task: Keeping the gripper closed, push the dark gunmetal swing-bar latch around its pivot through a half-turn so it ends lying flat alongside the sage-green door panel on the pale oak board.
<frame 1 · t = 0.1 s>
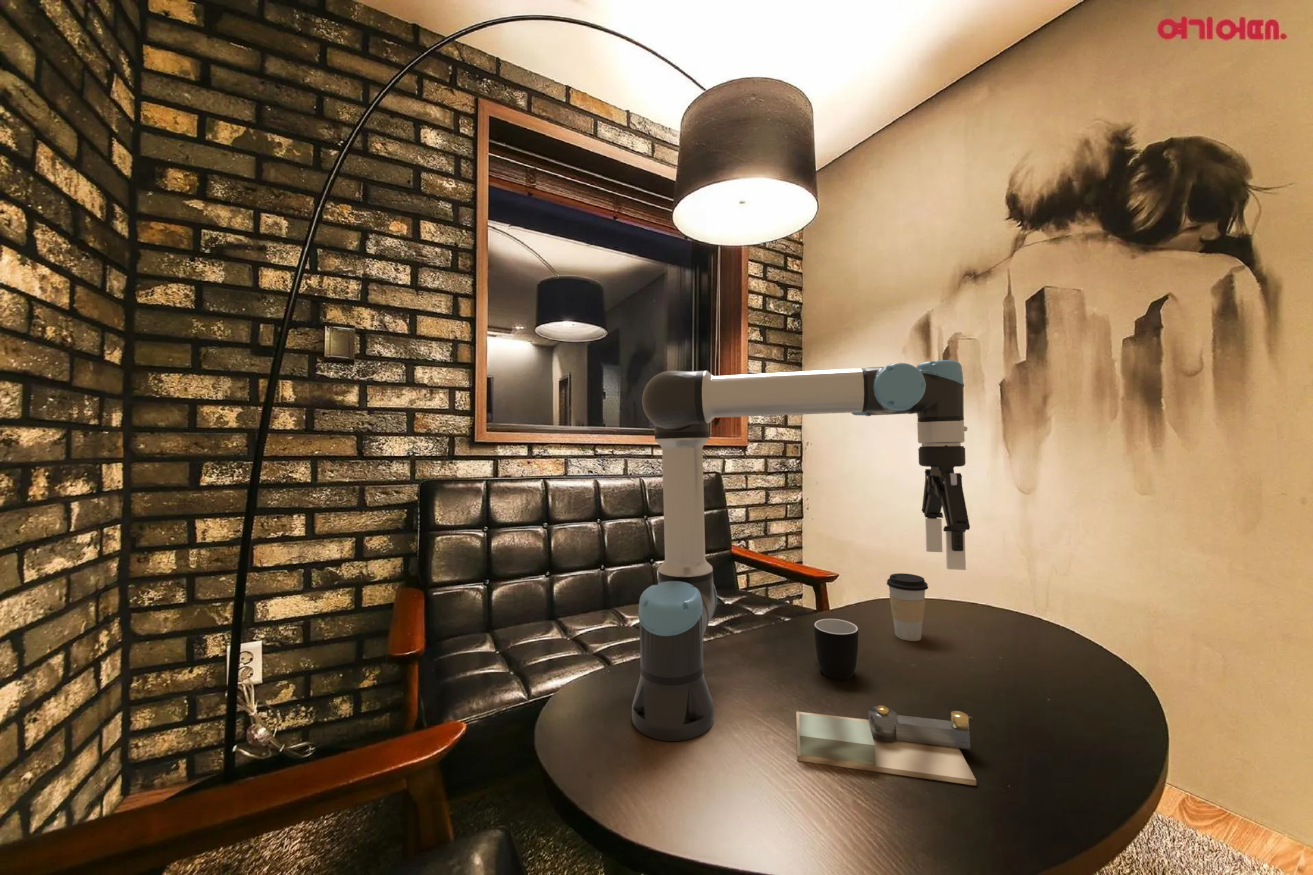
hand: (944, 559, 91), 28 cm above the table, fingers open, 13 cm apart
latch bar: (883, 740, 83), resting on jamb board, hinge at 0.0°
mug: (832, 670, 108), on the table
coffee cup: (908, 637, 125), on the table
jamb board: (875, 746, 81), on the table
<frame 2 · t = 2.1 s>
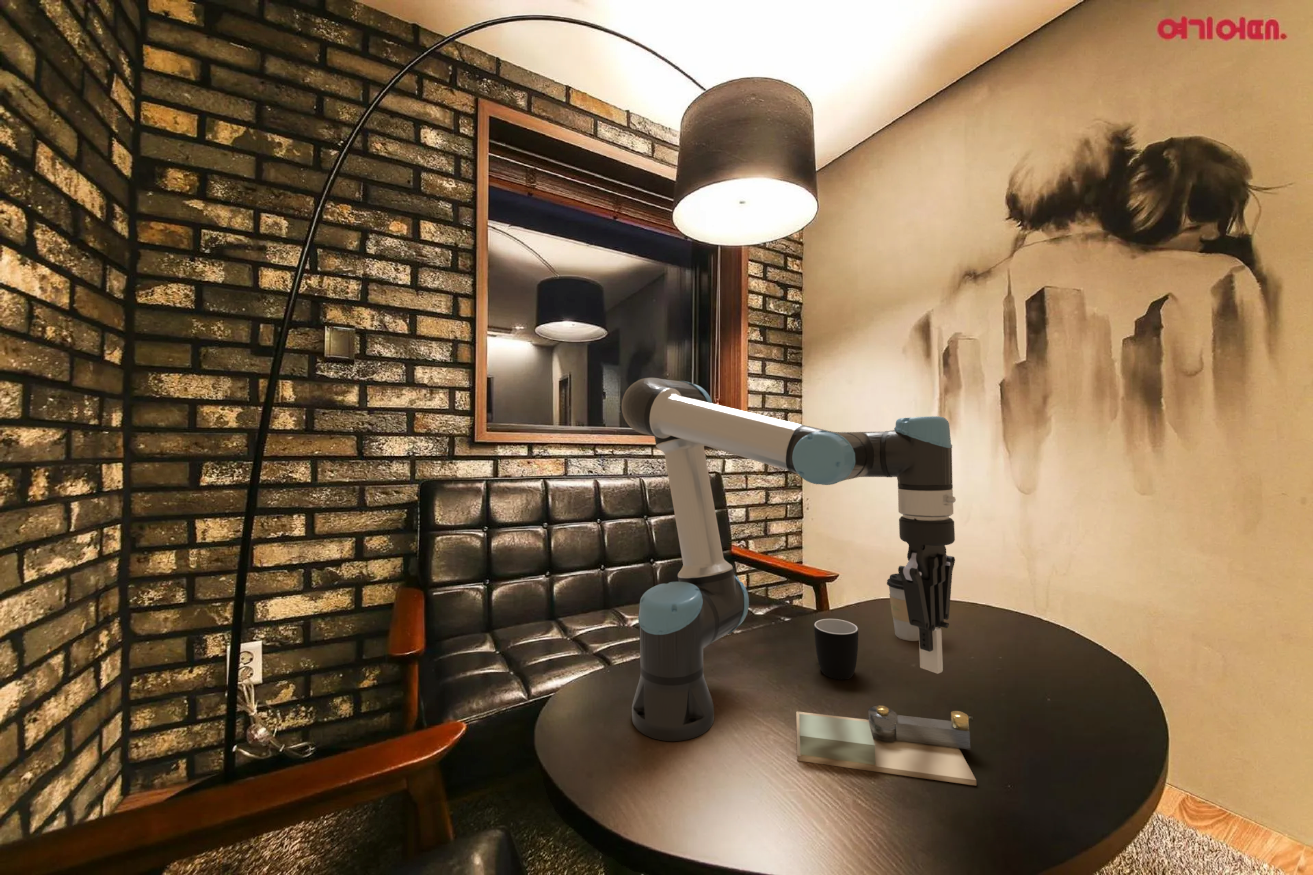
hand: (931, 669, 76), 15 cm above the table, fingers closed
nothing on the table moved.
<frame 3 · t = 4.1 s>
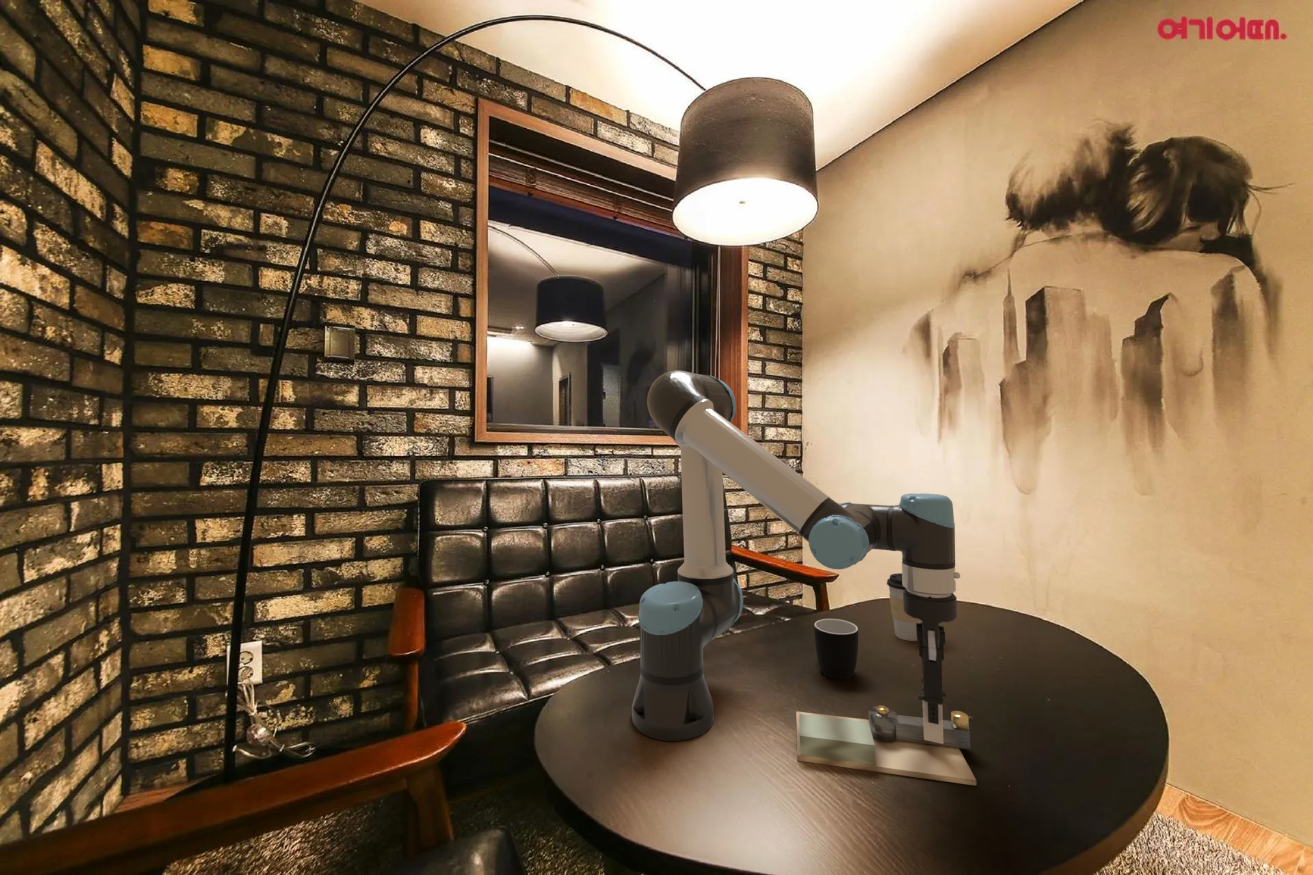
hand: (933, 739, 79), 2 cm above the table, fingers closed
latch bar: (883, 740, 83), resting on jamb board, hinge at 0.0°, touching gripper
everything else where it was.
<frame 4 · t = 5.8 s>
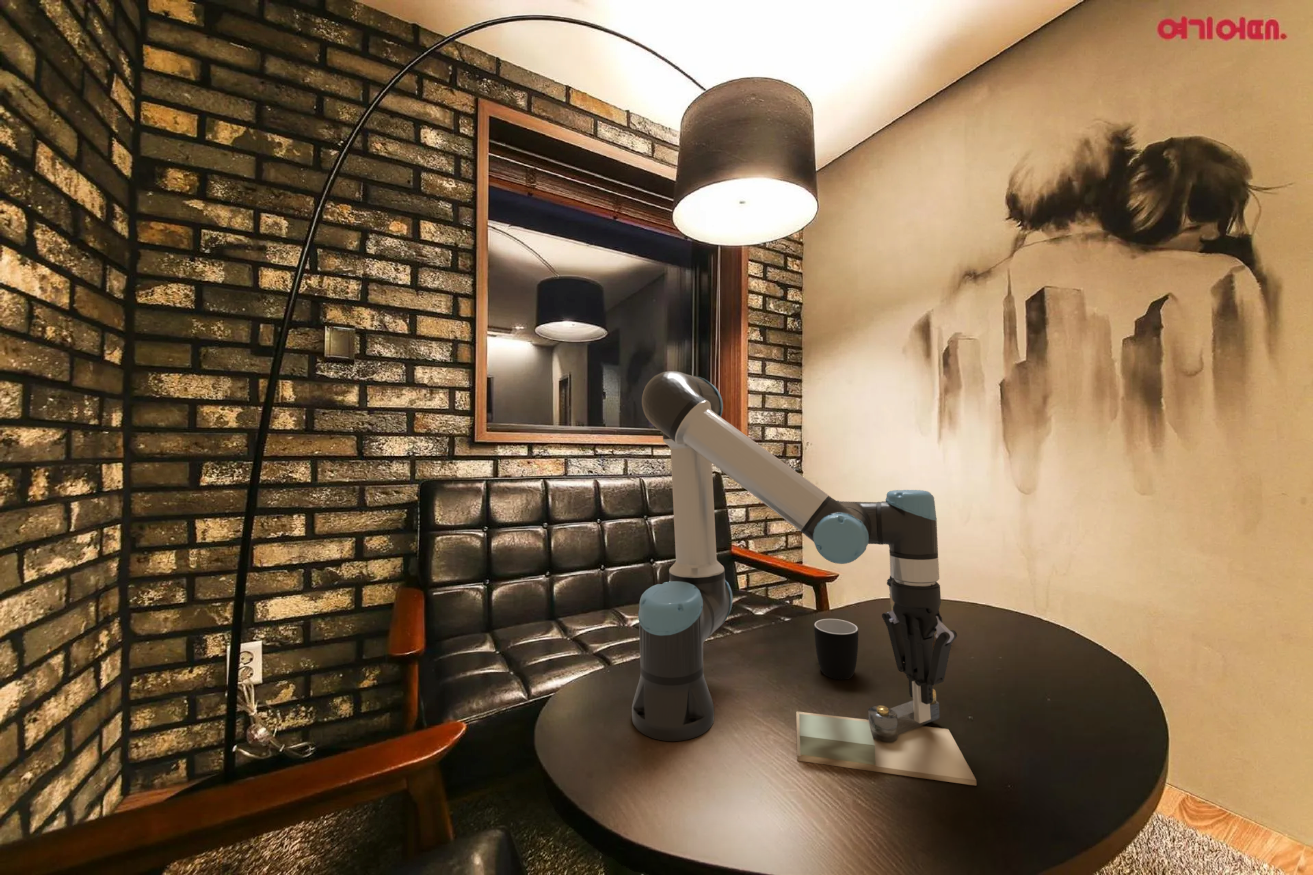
hand: (922, 719, 84), 2 cm above the table, fingers closed
latch bar: (883, 740, 83), resting on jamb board, hinge at 40.7°, touching gripper
everything else where it was.
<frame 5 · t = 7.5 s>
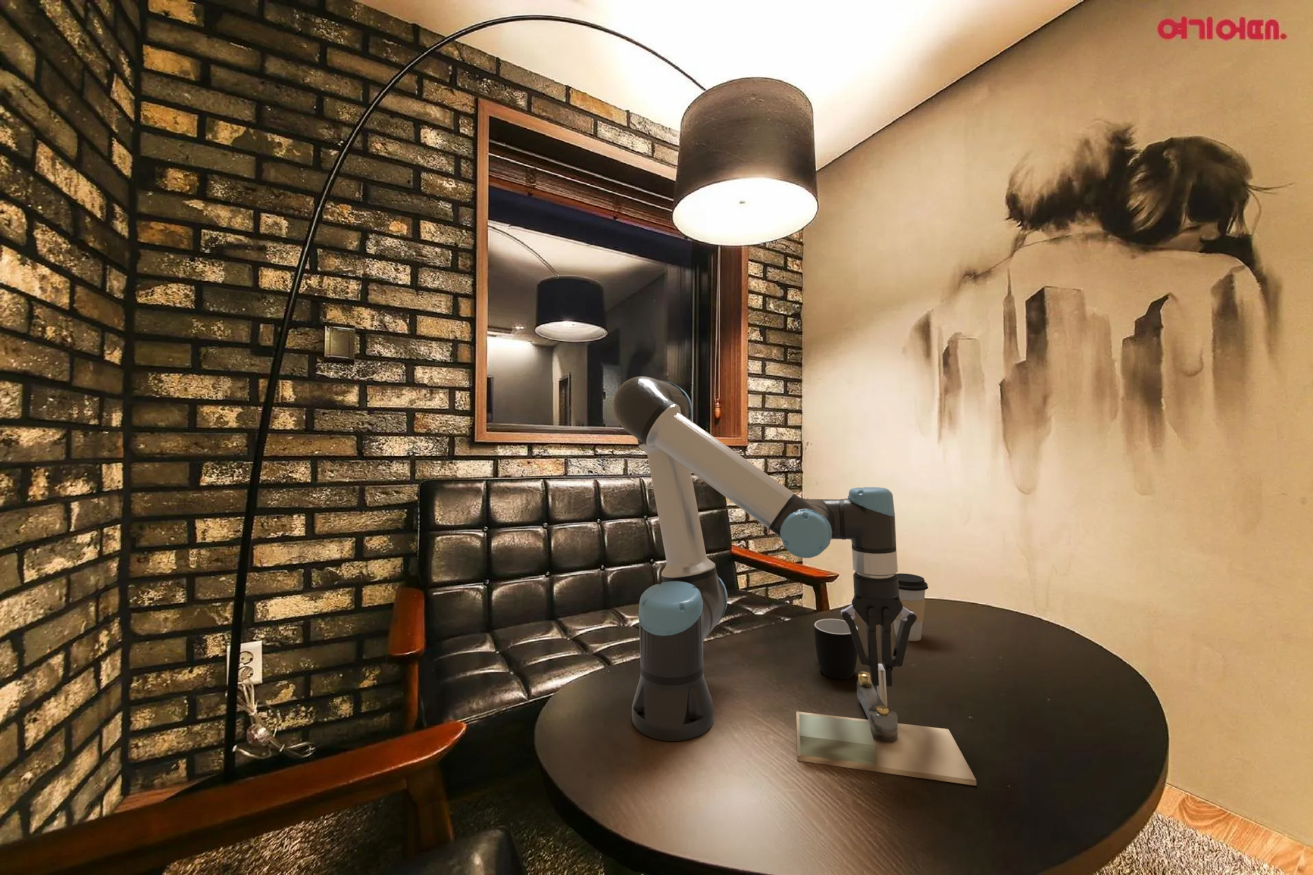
hand: (882, 702, 89), 3 cm above the table, fingers closed
latch bar: (883, 740, 83), resting on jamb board, hinge at 96.0°, touching gripper
everything else where it was.
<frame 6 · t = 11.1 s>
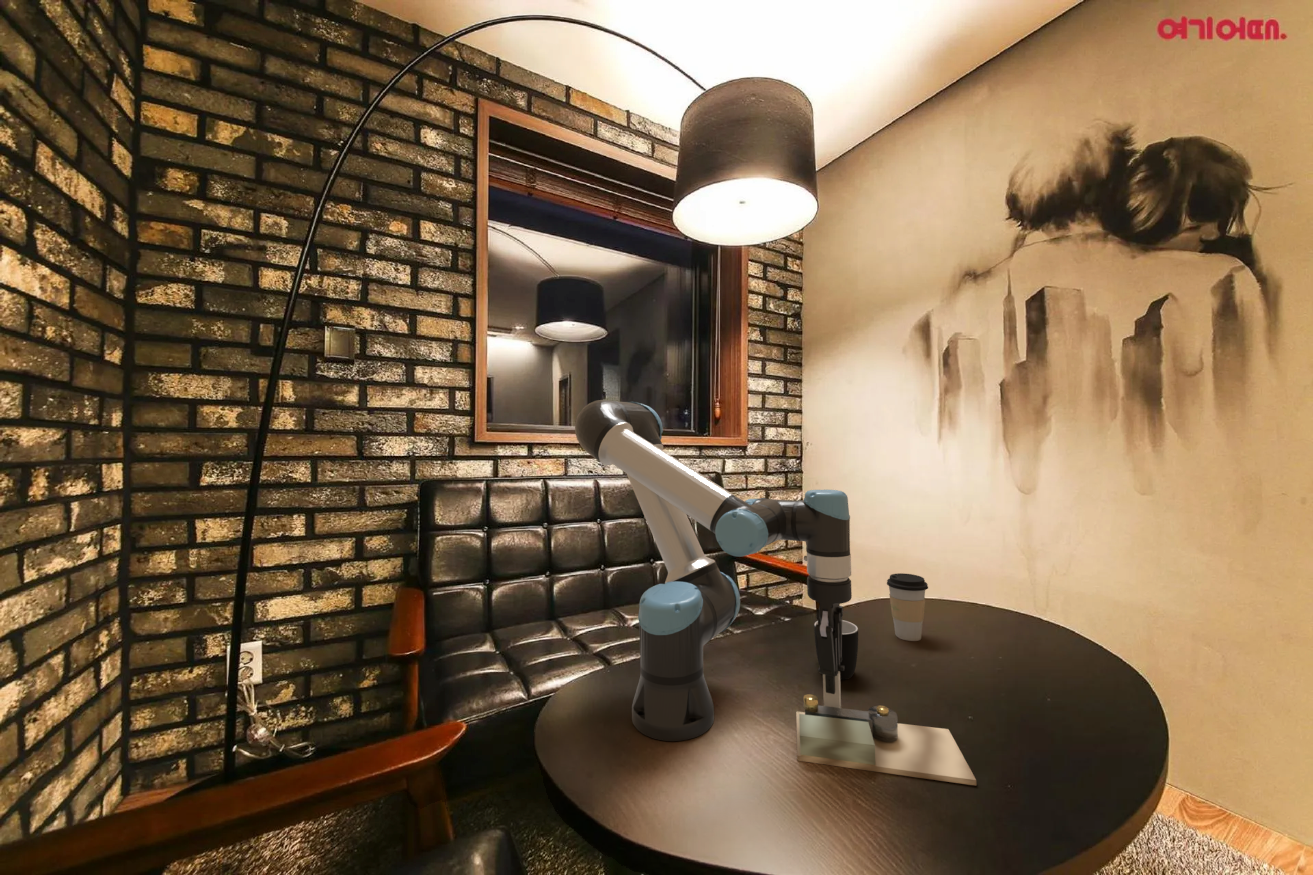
hand: (832, 707, 88), 2 cm above the table, fingers closed
latch bar: (883, 740, 83), resting on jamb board, hinge at 178.4°
everything else where it was.
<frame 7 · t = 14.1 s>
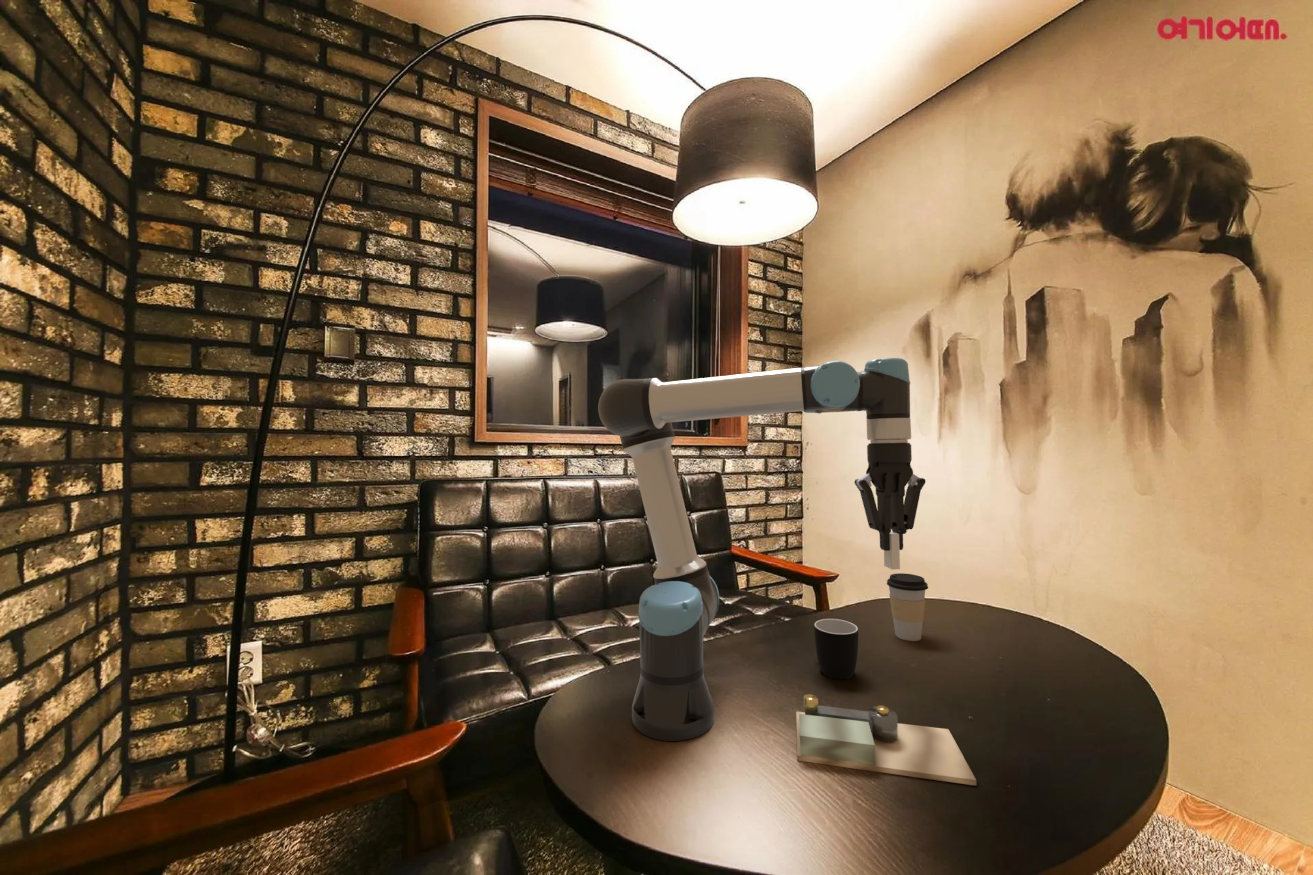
hand: (892, 567, 92), 26 cm above the table, fingers closed
nothing on the table moved.
at the end: latch bar at +178° (first picture: +0°); the gripper is holding nothing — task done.
